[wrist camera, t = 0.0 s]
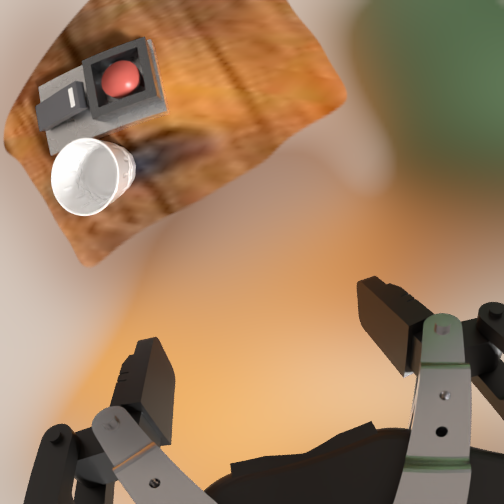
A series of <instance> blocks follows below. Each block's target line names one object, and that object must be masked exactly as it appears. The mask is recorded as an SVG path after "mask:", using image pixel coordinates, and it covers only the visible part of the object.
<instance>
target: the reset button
mask: <svg viewBox="0 0 504 504" xmlns="http://www.w3.org/2000/svg"><path fill="white" fill-rule="evenodd" d="M140 83H141V73H140V71H139V69H138V68H137V67H136V66H135V65H134V64H133V63H132V62H130V61H118V62H115V63H113V64H112V65H110V66H109V67H108V68H107V69H106V70H105V72H104V74H103V76H102V81H101V84H102V88H103V90H104V92H105V93H106V94H108V95H109V96H111V97H113V98H116V99H122V98H125V97H128V96H130V95H132V94H134V93H135V92H136V91H137V89H138V88H139V86H140Z"/></svg>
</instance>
